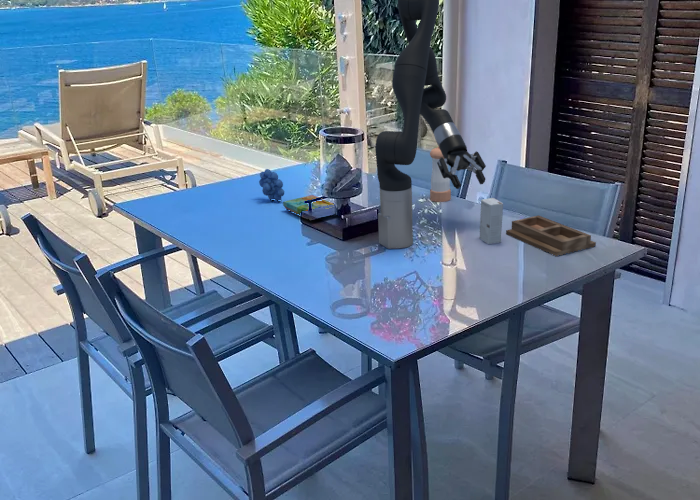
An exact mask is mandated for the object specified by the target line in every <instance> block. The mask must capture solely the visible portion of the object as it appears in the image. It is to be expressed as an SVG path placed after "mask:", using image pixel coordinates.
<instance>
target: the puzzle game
mask: <svg viewBox="0 0 700 500" xmlns="http://www.w3.org/2000/svg"><path fill="white" fill-rule="evenodd" d="M316 198H320V197H318V196H316V195H314V194H311V195H306V196H302V197H298V198H294V199H289V200H285V201H282V205H283V207H284V209H286V210H287V209H288V210H290V211H292V212H294V213H296V214H299V215H300V213H301V212H302V211H308V209H309V206H308V204H307V203H304V201H307V200H312V199H316ZM334 204H335V203H334ZM334 204H333V202H331V201H328V200H327V199H324V200H322V201H316V202H313V203H312V209H315V208H318V207H323V206H327V205H328V206H329V205H334ZM333 207H334V206H333ZM329 208H332V207H329ZM329 208H325V209H329ZM288 210H287V211H288Z"/></svg>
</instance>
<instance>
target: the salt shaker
mask: <svg viewBox="0 0 700 500" xmlns="http://www.w3.org/2000/svg"><path fill="white" fill-rule="evenodd" d="M429 155H430V158H431V160H432V162H431V165H432V166H431V167H432V170H431V176H430V190H429V199H430V201H432V202H435V203H443V202H444V203H446V202H449V201H451V200H452V191H451V188H450V187H451V180H450V179H449V178H443V176H442V174H441V172H440V169H439V167H438V164H437V162H438V161H439V159H440V158H441V157H443V155H442V153H441V150H440V148H439V146H438V145H437V147H435V148H432V149H431V150H430V152H429ZM443 158H444V157H443ZM444 159H445V158H444ZM446 165H447V168H448V169H449V165H448V164H447V163H446Z"/></svg>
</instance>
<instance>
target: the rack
mask: <svg viewBox="0 0 700 500" xmlns="http://www.w3.org/2000/svg"><path fill="white" fill-rule="evenodd" d="M505 231H506V232H505V235H507V236H510V237H512V238H514V239H516V240H518V241H521V242H523V243H525V244H527V245H530V246H532V247H534V248H536V249H538V248H539V249H538V250H540V249H541V250H540V251H543V252H545V251H546V252H545V253H547V252H549V253H551V254H550V255H552V254H553V255H552V256H554V255H555V257H559V256H558V255H560V256H564V255H567V254H566V253H568V254H571V253H570V252H572V253H575V252H574V251H576V252H579V251H578V250H580V251H583V250H582V249H584V250H587V249H586V248H588V249H591V248H590V247H592V248H595V247H594V246H597V245H596V244H597V241H593V240H592V239H591V238H592V235H591V234H589V233H586V232H583V231H581V230H578V229H575V228H573V227H570V226H567V225H565V224H562V223H560V222H556V221H555V220H552V219H549V218H547V217H544V216H542V215H534V216H529V217H525V218H521V219H517V220H512V221H511V228H510V229H507V230H505ZM549 253H548V254H549ZM563 254H564V255H563Z"/></svg>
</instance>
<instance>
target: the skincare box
mask: <svg viewBox="0 0 700 500" xmlns="http://www.w3.org/2000/svg"><path fill="white" fill-rule="evenodd" d="M503 213H504V203H503V202H502V201H500V200H498V199H496V198H495V197H489V198H483V199H481V200H480V213H479V214H480V220H479V239H480V240H481V241H483V242H484V243H485V244H487V245H495V244H499V243H502V230H503V229H502V228H503Z"/></svg>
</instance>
